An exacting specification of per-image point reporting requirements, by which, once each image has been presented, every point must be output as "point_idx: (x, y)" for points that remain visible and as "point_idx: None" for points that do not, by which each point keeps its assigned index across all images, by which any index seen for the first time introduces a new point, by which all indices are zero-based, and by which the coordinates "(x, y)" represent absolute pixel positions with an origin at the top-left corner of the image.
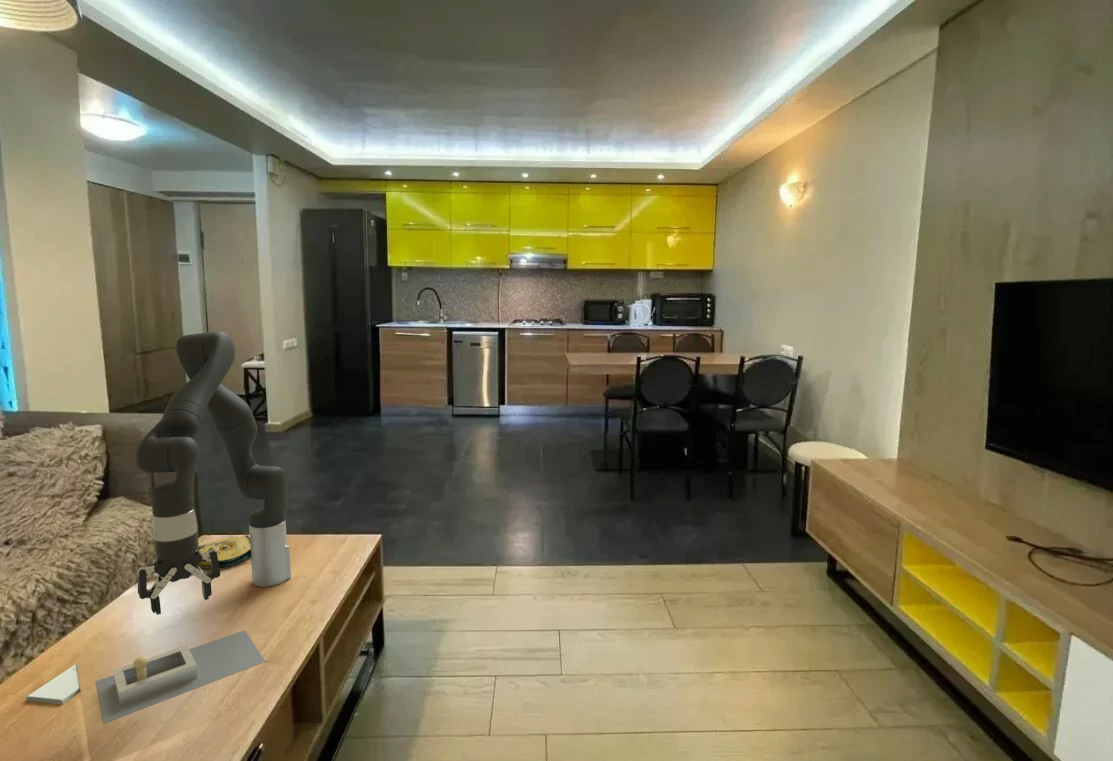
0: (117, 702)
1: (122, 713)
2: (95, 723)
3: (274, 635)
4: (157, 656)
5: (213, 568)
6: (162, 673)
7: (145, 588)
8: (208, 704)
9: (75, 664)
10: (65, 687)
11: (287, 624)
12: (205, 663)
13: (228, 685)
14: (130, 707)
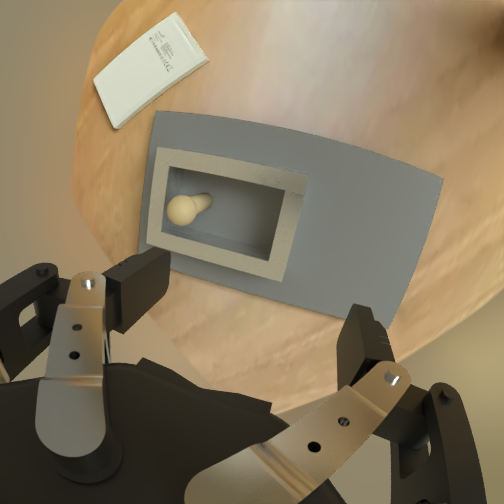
0: None
1: None
2: (137, 227)
3: (463, 239)
4: (237, 167)
5: (395, 483)
6: (220, 251)
7: (35, 351)
8: (268, 334)
9: (159, 23)
10: (125, 91)
11: (495, 224)
12: (321, 233)
13: (316, 318)
14: (172, 252)
